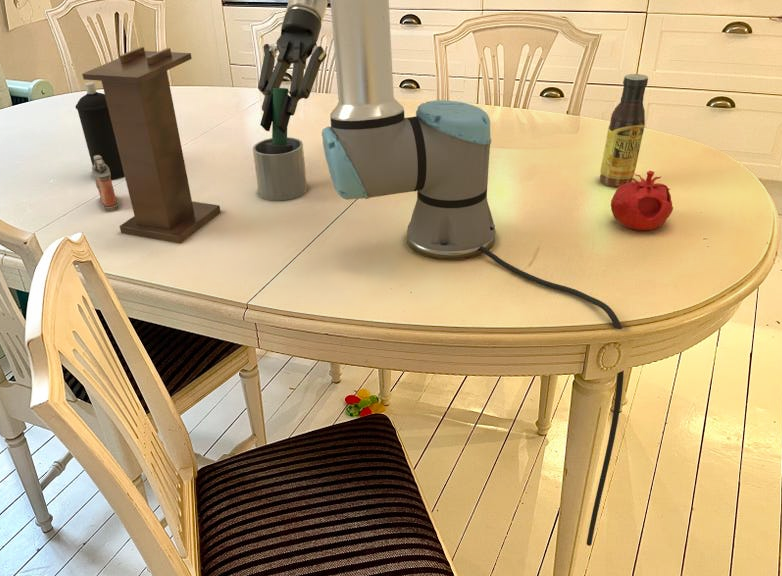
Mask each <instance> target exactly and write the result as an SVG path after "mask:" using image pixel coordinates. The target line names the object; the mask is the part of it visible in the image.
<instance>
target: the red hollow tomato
mask: <svg viewBox="0 0 782 576" xmlns="http://www.w3.org/2000/svg"><path fill="white" fill-rule="evenodd" d="M634 176H636V177H639V179H640V181H639V180H637V179H635V178H634V177H633V178H631V179H628V180H626V181H630V180H632V182H631V183H626V184H623V185H621V186H619V187H617V188H616V190H615V192H614V194H613V196H612V198H611V200H610V211H611V213H612V215H613V218H614V219H615V220H616V221H617V222H618V223H620V224H621V225H623V226H624V227H626V228H628V229H631V230H636V231H651V230H654V229H656V228H659V227H661V226H663V225H664V224H666V221H667V220H668V218H669V217H670V216H671V215H672V213H673V210H674V206H673V201H672V196H671V195H672V194H671V193H670V190H671V188H669V186H667V184H664V183H661V182H659V183H658V182H657V183H655V182H656V180H659V179H661V178H662V175H661V176H655V171H653V170H648V171H647V172H646V179H644V178H643V177H641V175H640V174H636V173H634ZM654 176H655V177H654Z"/></svg>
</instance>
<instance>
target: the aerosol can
mask: <svg viewBox="0 0 782 576" xmlns="http://www.w3.org/2000/svg"><path fill="white" fill-rule="evenodd" d="M84 87H85V89H86V94H84V95H83V96H81V98H79V99H78V101H77V103H76V104H75V106H74V107H75V109H76V110H77V113H78V117H79V121H80V125H81V128H82V132H83V135H84V139H85V144H86V147H87V151H88V155H89V158H90V162H91V165H92V166H93V165H95V164H94V156H96V155H100V156H101V157H102V160H103V161H104V164H106V165H107V166H108V167H109V170H110V174H111V176H110V177H111V181H112V180H117V179H120V178H123V177H125V175H124V171H123V167H122V163H121V159H120V155H119V151H118V147H117V142H116V138H115V134H114V130H113V126H112V122H111V118H110V114H109V110H108V106H107V102H106V97H105V93H104V92H103V93H102V92H98V91H97V89H96V84H95V82H93V81H91V82H86V83H84ZM92 166H91V167H92Z"/></svg>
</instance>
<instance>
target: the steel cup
mask: <svg viewBox="0 0 782 576" xmlns="http://www.w3.org/2000/svg"><path fill="white" fill-rule="evenodd" d="M271 142H272V137H271V138H270V137H269V138H266V139H263V140H260V141H259V142H256V143H255V144H254V145H253V147H252V155H253V161H254V162H253V163H254V168H255V177H256V183H257V190H258V195H259V197H261V198H263V199H265V200H268V201H277V202H278V201H288V200H292V199H296V198H298V197H301V196H303V195H304V194H305V193H306V192H307V189H308V187H307V186H308V185H307V184H308V183H307V174H306V163H305V162H306V161H305V152H304V143H303V141H302V140H301V139H299V138H295V137H289V136H287V143H290V144H293V151H291V152H287V153H282V154H266V143H271Z"/></svg>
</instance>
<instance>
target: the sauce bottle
mask: <svg viewBox="0 0 782 576" xmlns="http://www.w3.org/2000/svg"><path fill="white" fill-rule="evenodd" d="M648 82H649V77H648V75H645V74H640V73H629V74H626V75H625V76H624V77H623V81H622V84H623V88H622V93H621V97H620V102H619V103H617V105H616V107H615V108H614V110H613V111H612V113H611V115H610V121H609V126H608V128H607V133H606V139H605V144H604V149H603V155H602V160H601V164H600V165H601V166H600V171H599V172H600V174H599V181H600V182H601V183H602V184H603V185H605V186H610V187H615V188H616V187H617V188H618V187H619V186H621V185H623V184H626V183H632V182H633V180H630V181H626V180H628V179H631V178H634V176H635V174H636V168H637V164H638V159H639V154H640V151H641V145H642V140H643V135H644V131H645V127H646V117H645V116H646V112H645V107H644V97H645V92H646V91H645V90H646V87H647V86H648Z"/></svg>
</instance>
